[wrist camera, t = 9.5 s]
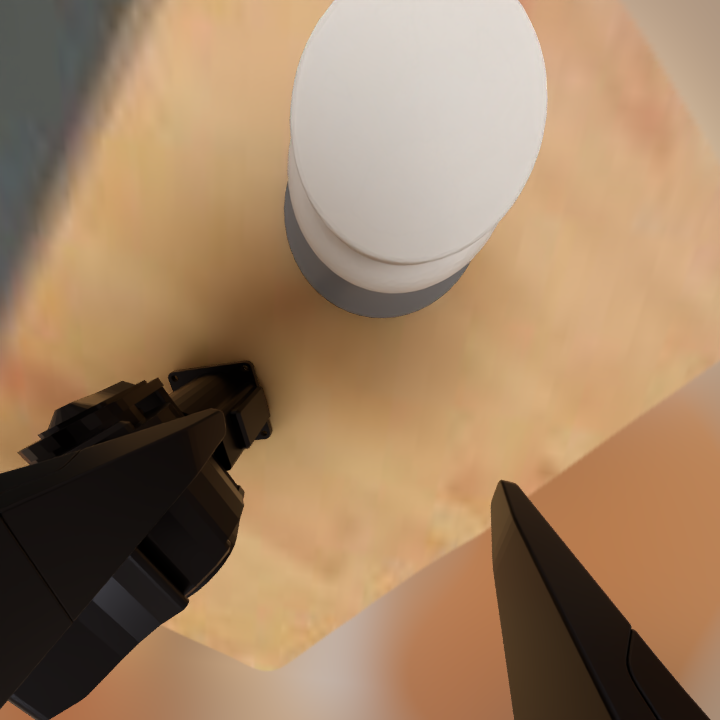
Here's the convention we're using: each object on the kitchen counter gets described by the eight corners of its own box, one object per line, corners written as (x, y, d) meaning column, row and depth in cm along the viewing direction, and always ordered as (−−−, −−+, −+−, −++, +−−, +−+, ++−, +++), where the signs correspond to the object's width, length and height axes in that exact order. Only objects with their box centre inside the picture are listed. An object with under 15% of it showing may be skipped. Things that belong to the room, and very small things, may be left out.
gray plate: (310, 326, 21) (307, 330, 20) (268, 127, 17) (261, 119, 16) (481, 301, 20) (487, 303, 19) (476, 84, 16) (483, 72, 15)
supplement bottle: (309, 187, 17) (156, -8, 5) (417, 134, 16) (575, -287, 4) (354, 295, 19) (325, 354, 7) (453, 253, 18) (633, 233, 6)
